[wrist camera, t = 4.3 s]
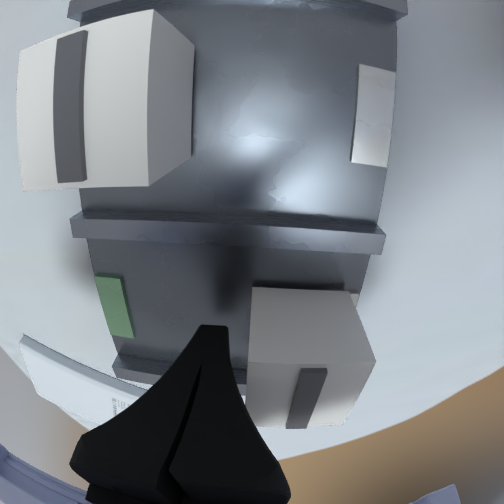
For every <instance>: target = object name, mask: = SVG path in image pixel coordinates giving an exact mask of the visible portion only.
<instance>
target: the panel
mask: <svg viewBox="0 0 504 504" xmlns="http://www.w3.org/2000/svg"><path fill="white" fill-rule="evenodd" d="M151 9H154V10H155V11H157V12H158V13H159V14H160V15H161V16H162V17H164V18H165V19H166V20H167V21H168V22H169V23H171V24H172V25H173V26H174V27H175V28H176V29H177V30H178V31H180V32H181V33H182V34H183V35H184V36H185V37H186V38H187V39H188V40H189V41H190V42H191V43H193V44H194V45H195V50H194V67H193V89H192V122H191V158H190V159H188V160H187V161H185V162H184V163H182V164H181V165H179V166H178V167H176V168H175V169H173V170H172V171H170V172H169V173H167V174H166V175H164V176H163V177H161V178H160V179H159V180H157V181H156V182H154V183H153V184H151V185H150V186H134V187H93V188H79V191H80V199H81V206H82V211H81V212H79V213H78V214H76V215H75V216H73V217H72V218H70V224H71V229H72V234H73V237H74V238H87V242H88V247H89V252H90V257H91V261H92V266H93V270H94V274H95V276H94V278H95V282H96V286H97V289H98V293H99V297H100V301H101V304H102V308H103V311H104V315H105V318H106V321H107V324H108V328H109V331H110V334H111V335H112V338H113V341H114V344H115V347H116V350H117V352H118V355H117V357H116V359H115V361H114V363H113V365H112V368H113V370H114V373H115V375H116V377H117V378H121V379H125V380H130V381H135V382H140V383H146V384H151V385H154V384H155V383H156V382H157V381H158V380H159V379H160V378H161V376H162V375H163V374H164V373H165V372H166V371H167V370H168V368H169V367H170V366H171V365H172V364H173V363H174V361H175V360H176V359H177V357H178V356H179V355H180V354H181V352H182V351H183V350H184V348H185V347H186V345H187V344H188V343H189V341H190V340H191V338H192V337H193V335H194V334H195V332H196V330H197V329H198V327H199V326H200V325H201V324H204V325H223V326H227V327H228V329H229V346H230V361H231V365H232V370H233V373H234V377H235V380H236V383H237V386H238V389H239V392H240V394H241V395H245V396H246V385H247V368H248V351H249V335H250V318H251V301H252V287H263V288H282V289H304V290H330V291H349V293H350V295H351V298H352V300H353V303H354V305H355V308H356V305H357V302H358V298H359V295H360V291H361V288H362V284H363V281H364V277H365V273H366V269H367V265H368V261H369V257H370V254H377V255H381V254H382V250H383V246H384V242H385V238H386V234H385V233H384V232H383V231H382V230H381V229H380V228H379V226H378V225H377V222H378V217H379V212H380V207H381V201H382V196H383V190H384V184H385V178H386V172H387V165H388V158H389V151H390V143H391V134H392V125H393V114H394V102H395V86H396V61H397V28H396V21H397V20H399V19H400V18H402V17H404V16H406V15H408V9H407V0H71V1H70V4H69V9H68V15H67V18H70V19H73V20H76V21H79V22H80V27H82V26H85V25H88V24H91V23H95V22H98V21H102V20H105V19H109V18H113V17H117V16H121V15H125V14H130V13H135V12H140V11H145V10H151Z"/></svg>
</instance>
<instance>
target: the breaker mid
mask: <svg viewBox="0 0 504 504" xmlns="http://www.w3.org/2000/svg"><path fill="white" fill-rule="evenodd" d="M194 50H195V45H194V44H193V43H191V42H190V41H189V40H188V39H187V38H186V37H185V36H184V35H183V34H182V33H181V32H180V31H178V30H177V29H176V28H175V27H174V26H173V25H172V24H171V23H169V22H168V21H167V20H166V19H165V18H164V17H162V16H161V15H160V14H159V13H158V12H157V11H155V10H154V9H151V10H145V11H140V12H135V13H130V14H125V15H121V16H117V17H113V18H109V19H105V20H102V21H98V22H95V23H91V24H88V25H85V26H82V27H79V28H76V29H73V30H70V31H67V32H64V33H62V34H59V35H56V36H54V37H51V38H49V39H46V40H44V41H42V42H39V43H37V44H35V45H33V46H30V47H28V48H26V49H24V50H22V51H20V56H19V67H18V81H17V138H18V153H19V163H20V172H21V180H22V187H23V192H27V191H40V190H54V189H71V188H93V187H134V186H150V185H151V184H153V183H154V182H156V181H157V180H159V179H160V178H161V177H163V176H164V175H166V174H167V173H169V172H170V171H172V170H173V169H175V168H176V167H178V166H179V165H181V164H182V163H184V162H185V161H187V160H188V159H190V158H191V122H192V89H193V67H194Z"/></svg>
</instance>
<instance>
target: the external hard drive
mask: <svg viewBox="0 0 504 504" xmlns="http://www.w3.org/2000/svg"><path fill="white" fill-rule="evenodd" d="M19 347H20V350H21V353H22V356H23V359H24V362H25V364H26V367H27V370H28V372H29V375H30V377H31V380H32V382H33V384H34V387H35V390H36V392H37V394H38V395H39V396H41V397H43V398H45V399H47V400H48V401H50V402H52V403H54V404H56V405H58V406H60V407H62V408H64V409H66V410H68V411H70V412H72V413H74V414H76V415H79V416H81V417H83V418H85V419H87V420H90V421H92V422H94V423H97V424H99V425H102V424H103V423H105V422H107V421H108V420H110V419H111V418H113V417H114V416H116V415H117V414H119V413H120V412H122V411H123V410H125V409H126V408H127V407H129V406H130V405H131V404H132V403H134V402H135V401H136V400H137V399H138V398H140V397H141V396H142V395H143V394H144V393H145V392H146V391H148V390H145V389H142V388H139V387H136V386H134V385H131V384H128V383H126V382H123V381H120V380H118V379H115V378H113V377H110V376H108V375H105V374H103V373H100V372H98V371H96V370H93V369H91V368H89V367H87V366H84V365H82V364H80V363H78V362H76V361H74V360H71V359H69V358H67V357H65V356H63V355H61V354H59V353H57V352H55V351H53V350H51V349H49V348H47V347H46V346H44V345H42V344H40V343H38V342H36V341H35V340H33V339H31V338H29V337H28V336H26V335H24V336H23V338H22V339H21V340H20V342H19Z"/></svg>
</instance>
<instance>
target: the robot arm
mask: <svg viewBox="0 0 504 504" xmlns="http://www.w3.org/2000/svg"><path fill="white" fill-rule="evenodd" d="M69 464H70V467H71V468H72V470H73V471H75V472H76V473H77V474H78V475H79V476H81V477H82V478H83V479H85V480H86V481H87V482H89V483H90V485H89V487H88V491H85V490H82V489H79V488H77V487H75V486H72V485H70V484H68V483H66V482H63V481H61V480H59V479H57V478H55V477H53V476H51V475H49V474H47V473H45V472H43V471H41V470H39V469H37V468H35V467H33V466H32V465H30V464H28V463H26V462H25V461H23V460H21V459H20V458H18V457H16V456H15V455H13V454H11V453H10V452H8V450H7V449H6V448H5V447H4V446H2V445H1V444H0V500H1V501H2V502H3V503H4V504H287V503H288V501H289V499H290V498H291V492H290V488H289V485H288V482H287V480H286V478H285V475H284V473H283V471H282V469H281V466H280V464H279V462H278V461H277V460H276V458H275V457H274V455H273V454H272V453H271V451H270V450H269V448H268V447H267V445H266V443H265V442H264V440H263V439H262V437H261V435H260V434H259V432H258V430H257V428H256V426H255V424H254V423H253V421H252V419H251V417H250V415H249V413H248V411H247V408H246V406H245V404H244V402H243V399H242V397H241V394H240V392H239V389H238V386H237V383H236V380H235V377H234V373H233V370H232V365H231V361H230V346H229V329H228V327H227V326H223V325H204V324H201V325H200V326H199V327H198V329H197V330H196V332H195V334H194V335H193V337H192V338H191V340H190V341H189V343H188V344H187V345H186V347H185V348H184V350H183V351H182V352H181V354H180V355H179V356H178V357H177V359H176V360H175V361H174V363H173V364H172V365H171V366H170V367H169V368H168V370H167V371H166V372H165V373H164V374H163V375H162V376H161V378H160V379H159V380H158V381H157V382H156V383H155V384H154V385H153V386H152V387H151V388H150V389H149V390H148V391H146V392H145V393H144V394H143V395H142V396H141V397H140V398H138V399H137V400H136V401H135V402H134V403H132V404H131V405H130V406H129V407H127V408H126V409H125V410H123V411H122V412H120V413H119V414H117V415H116V416H114V417H113V418H111V419H110V420H108V421H107V422H105V423H103V424H102V425H100V426H98V427H96V428H94V429H92V430H91V431H89V432H87V433H85V434H83V435H82V436H81V438H80V440H79V441H78V443H77V445H76V448H75V450H74V453H73V455H72V458H71V461H70V463H69ZM409 504H460V501H459V497H458V493H457V489H456V486H455V485H454V484H452V485H450V486H448V487H445V488H443V489H440V490H437V491H435V492H432V493H430V494H427V495H425V496H423V497H421V498H419V499H418V500H417V501H416V502H413V503H409Z"/></svg>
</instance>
